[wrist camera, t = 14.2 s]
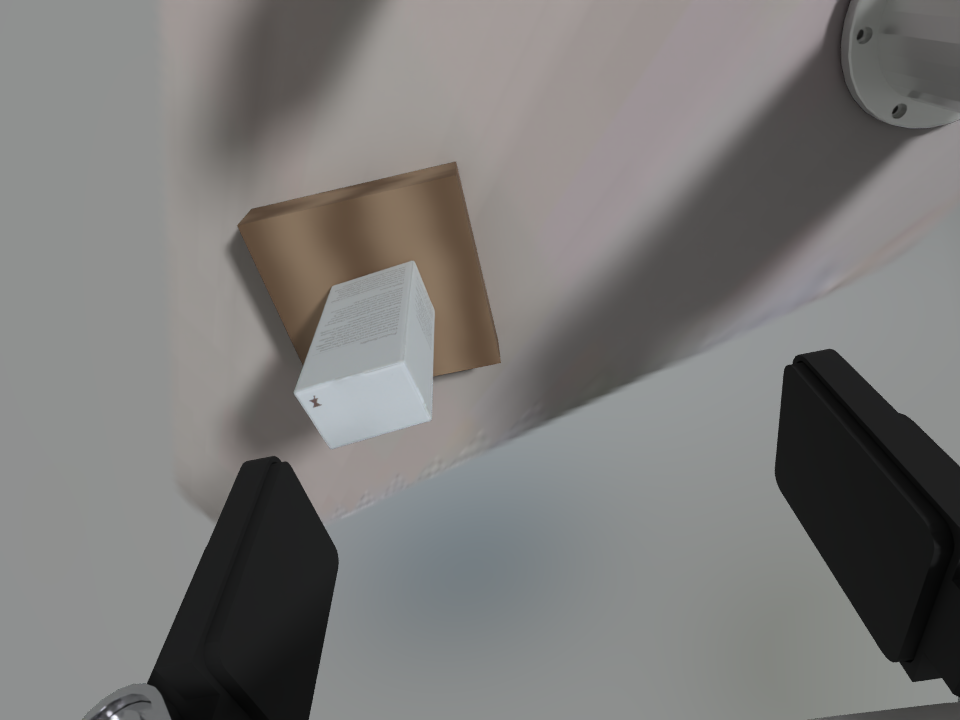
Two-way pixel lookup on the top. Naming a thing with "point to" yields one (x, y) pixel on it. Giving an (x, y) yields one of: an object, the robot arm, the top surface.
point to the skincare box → (371, 358)
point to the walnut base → (378, 257)
